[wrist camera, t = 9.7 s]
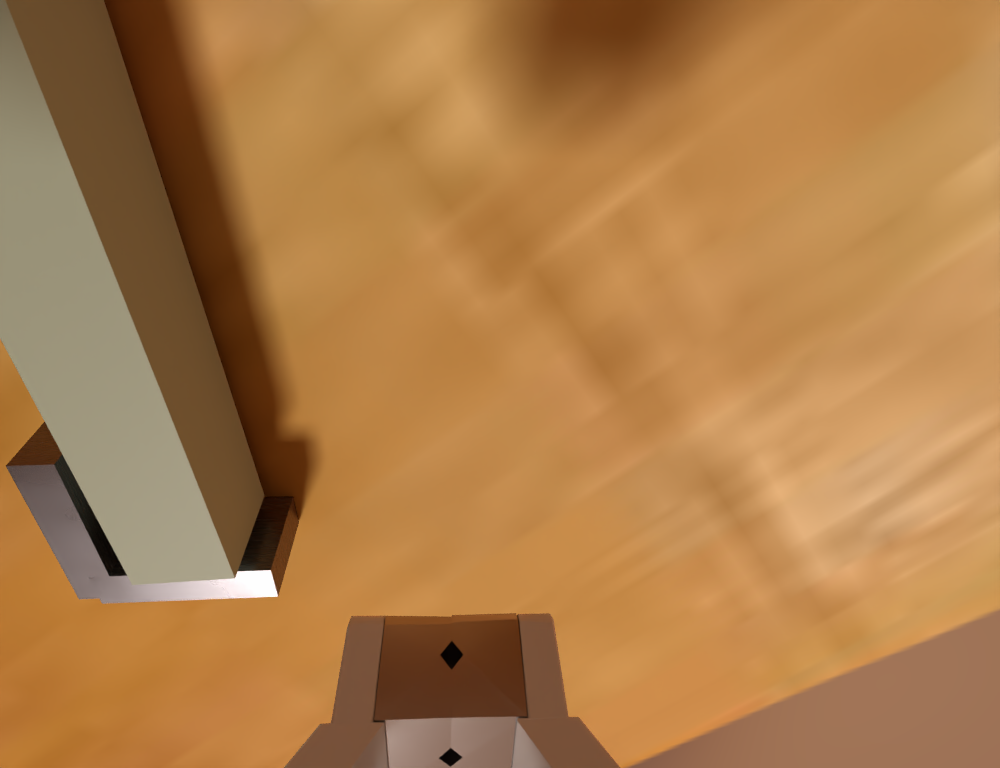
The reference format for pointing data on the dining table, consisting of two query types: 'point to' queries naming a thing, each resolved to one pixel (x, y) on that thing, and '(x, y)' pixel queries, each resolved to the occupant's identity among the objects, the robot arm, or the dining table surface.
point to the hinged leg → (112, 304)
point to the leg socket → (94, 558)
